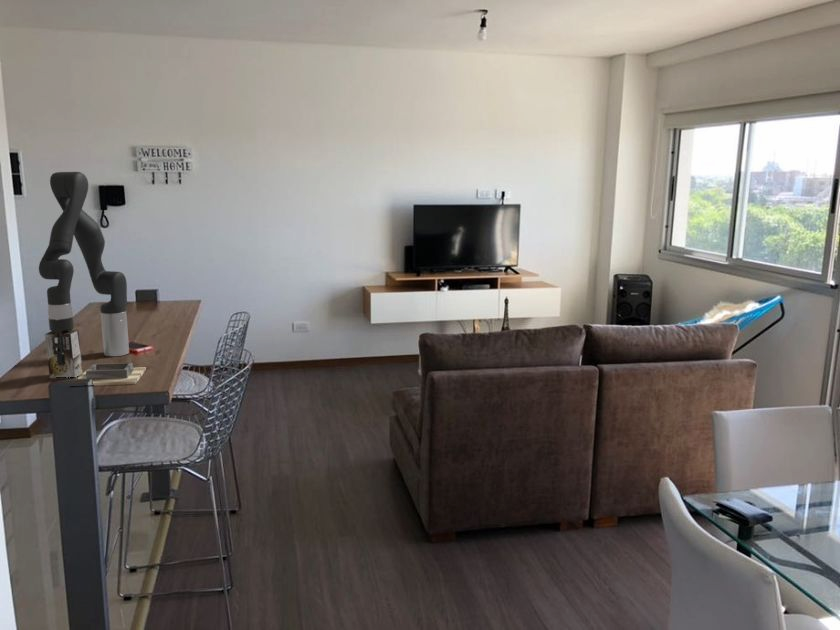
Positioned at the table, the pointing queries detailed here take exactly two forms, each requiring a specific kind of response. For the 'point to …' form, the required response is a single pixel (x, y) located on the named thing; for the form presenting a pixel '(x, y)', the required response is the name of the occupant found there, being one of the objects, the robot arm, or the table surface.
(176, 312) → the table surface
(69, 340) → the coffee box
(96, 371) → the mount plate
